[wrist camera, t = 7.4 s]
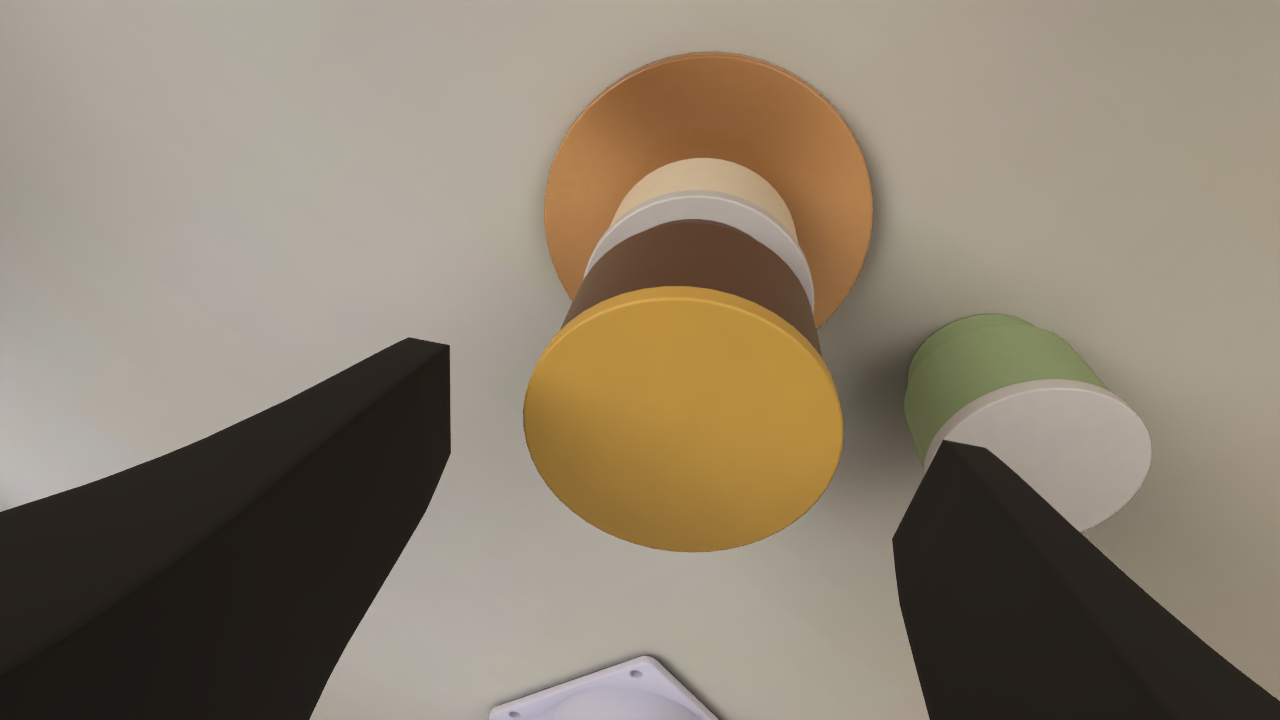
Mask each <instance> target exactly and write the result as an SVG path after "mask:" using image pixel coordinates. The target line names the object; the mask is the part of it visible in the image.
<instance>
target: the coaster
mask: <svg viewBox="0 0 1280 720" xmlns="http://www.w3.org/2000/svg"><path fill="white" fill-rule="evenodd" d="M692 158H713V159H722V160H725V161H729V162H733V163H736V164H739V165H741V166H744V167H746V168H748V169H750V170H751V171H753V172H755V173H757V174H758V175H759V176H761V177H762V178H763V179H765V180H766V181H767V182H768V183H769V184H770V185H771V186H772V187H773V188H774V189H775V190H776V191H777V192H778V194H779V195H780V196H781V198H782V199H783V200H784V202H785V204H786V206H787V208H788V210H789V211H790V214H791V217H792V219H793V222H794V226H795V231H796V235H797V240H798V244H799V246H800V248H801V250H802V251H803V253H804V255H805V258H806V261H807V263H808V266H809V269H810V273H811V278H812V283H813V288H814V312H813V318H814V323H815V327H816V330H817V329H818V328H819V327H820V326H821V325H822V324H823V323H824V322H825V321H826V320H827V319H828V318H829V317H830V316H831V315H832V314H833V313H834V312H835V311H836V309H837V308H838V307H839V306H840V304H841V303H842V302H843V301H844V299H845V298H846V296H847V295H848V293H849V291H850V290H851V288H852V286H853V285H854V283H855V281H856V279H857V277H858V275H859V273H860V270H861V268H862V266H863V263H864V261H865V257H866V254H867V250H868V247H869V243H870V238H871V231H872V224H873V196H872V189H871V183H870V177H869V173H868V170H867V167H866V163H865V160H864V157H863V154H862V152H861V150H860V148H859V146H858V144H857V142H856V139H855V137H854V135H853V134H852V132H851V131H850V129H849V128H848V126H847V125H846V123H845V122H844V120H843V119H842V117H841V116H840V114H839V113H838V112H837V111H836V109H835V108H834V107H833V106H832V105H831V104H830V103H829V102H828V101H827V100H826V98H825V97H824V96H823V95H822V94H820V93H819V92H818V91H817V90H815V89H814V88H813V87H812V86H811V85H809V84H808V83H807V82H806V81H804V80H803V79H801V78H799V77H798V76H796V75H794V74H793V73H791V72H789V71H788V70H786V69H784V68H781V67H779V66H777V65H774V64H772V63H769V62H767V61H765V60H761V59H758V58H754V57H750V56H746V55H742V54H734V53H725V52H693V53H687V54H682V55H676V56H671V57H667V58H664V59H661V60H658V61H655V62H652V63H649V64H646V65H644V66H642V67H640V68H638V69H636V70H634V71H632V72H630V73H628V74H626V75H625V76H623V77H622V78H620V79H619V80H618V81H616V82H615V83H613V84H612V85H610V86H609V87H607V88H606V89H605V90H604V91H603V92H602V93H601V94H600V95H599V96H598V97H596V98H595V99H594V100H593V101H592V102H591V103H590V104H589V105H588V106H587V107H586V109H585V110H584V111H583V112H582V113H581V115H580V116H579V117H578V118H577V119H576V121H575V122H574V123H573V125H572V126H571V128H570V129H569V131H568V133H567V134H566V136H565V138H564V139H563V141H562V143H561V145H560V147H559V149H558V152H557V154H556V156H555V159H554V161H553V164H552V167H551V171H550V175H549V178H548V182H547V188H546V195H545V211H544V223H545V231H546V238H547V244H548V248H549V252H550V255H551V259H552V262H553V265H554V267H555V270H556V272H557V275H558V277H559V279H560V281H561V283H562V285H563V286H564V288H565V290H566V292H567V294H568V295H569V297H570V298H571V300H572V301H574V299H575V296H576V294H577V292H578V290H579V288H580V286H581V284H582V282H583V279H584V274H585V271H586V268H587V265H588V262H589V259H590V257H591V255H592V253H593V251H594V249H595V247H596V245H597V243H598V242H599V240H600V239H601V237H602V236H603V235H604V233H605V232H606V231H607V229H608V228H609V227H610V225H611V223H612V221H613V218H614V216H615V214H616V212H617V210H618V208H619V206H620V204H621V202H622V201H623V199H624V198H625V196H626V195H627V194H628V192H629V191H630V190H631V189H632V188H633V187H634V186H635V185H636V184H637V183H638V182H639V181H640V180H642V179H643V178H644V177H645V176H647V175H648V174H650V173H651V172H653V171H655V170H656V169H658V168H661V167H663V166H665V165H667V164H670V163H673V162H677V161H680V160H686V159H692Z"/></svg>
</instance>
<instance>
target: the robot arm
mask: <svg viewBox="0 0 1280 720" xmlns="http://www.w3.org/2000/svg"><path fill="white" fill-rule="evenodd" d="M450 453H451V433H450V345H446V344H440V343H435V342H430V341H425V340H419V339H414V338H407V339H404V340H402V341H400V342H398V343H396V344H394V345H392V346H390V347H388V348H386V349H384V350H382V351H380V352H378V353H376V354H374V355H372V356H370V357H368V358H366V359H365V360H363V361H361V362H359V363H357V364H355V365H353V366H351V367H350V368H348V369H346V370H344V371H342V372H340V373H338V374H336V375H334V376H332V377H330V378H328V379H327V380H325V381H323V382H321V383H319V384H317V385H315V386H313V387H311V388H309V389H307V390H305V391H303V392H301V393H299V394H297V395H296V396H294V397H292V398H290V399H288V400H286V401H284V402H282V403H280V404H277V405H275V406H273V407H271V408H269V409H267V410H265V411H262V412H260V413H258V414H256V415H254V416H252V417H250V418H247V419H245V420H243V421H241V422H239V423H237V424H234V425H232V426H230V427H228V428H226V429H224V430H222V431H219V432H217V433H215V434H213V435H211V436H209V437H207V438H204V439H202V440H200V441H197V442H195V443H193V444H190V445H188V446H186V447H183V448H181V449H178V450H176V451H173V452H171V453H168V454H166V455H163V456H161V457H159V458H156V459H153V460H151V461H148V462H145V463H143V464H140V465H137V466H135V467H132V468H130V469H127V470H124V471H122V472H119V473H116V474H114V475H111V476H108V477H106V478H103V479H100V480H97V481H94V482H92V483H89V484H86V485H83V486H80V487H77V488H74V489H71V490H68V491H64V492H61V493H58V494H55V495H52V496H49V497H46V498H43V499H40V500H36V501H33V502H30V503H27V504H24V505H21V506H18V507H15V508H12V509H8V510H5V511H2V512H0V720H309V719H310V717H311V715H312V713H313V710H314V708H315V706H316V704H317V702H318V700H319V698H320V696H321V694H322V691H323V689H324V687H325V685H326V683H327V681H328V679H329V677H330V675H331V673H332V671H333V669H334V667H335V666H336V664H337V662H338V660H339V658H340V656H341V655H342V653H343V651H344V649H345V647H346V645H347V643H348V642H349V640H350V638H351V637H352V635H353V633H354V632H355V630H356V628H357V627H358V625H359V623H360V622H361V620H362V618H363V617H364V615H365V613H366V612H367V610H368V608H369V607H370V605H371V603H372V602H373V600H374V598H375V597H376V595H377V593H378V591H379V590H380V588H381V586H382V585H383V583H384V581H385V580H386V578H387V576H388V575H389V573H390V571H391V570H392V568H393V566H394V565H395V563H396V561H397V560H398V558H399V556H400V555H401V553H402V551H403V549H404V548H405V546H406V544H407V543H408V541H409V539H410V538H411V536H412V534H413V532H414V531H415V529H416V527H417V526H418V524H419V522H420V520H421V519H422V517H423V515H424V513H425V512H426V510H427V507H428V505H429V503H430V501H431V498H432V496H433V494H434V492H435V489H436V487H437V485H438V482H439V480H440V478H441V475H442V473H443V470H444V468H445V465H446V463H447V461H448V458H449V456H450ZM892 541H893V551H894V561H895V571H896V579H897V587H898V594H899V601H900V607H901V611H902V615H903V619H904V623H905V627H906V631H907V635H908V639H909V643H910V646H911V650H912V654H913V658H914V662H915V666H916V669H917V673H918V677H919V681H920V684H921V688H922V692H923V696H924V699H925V703H926V707H927V711H928V714H929V718H930V720H1280V701H1279V700H1277V699H1276V698H1275V697H1273V696H1272V695H1271V694H1269V693H1268V692H1267V691H1266V690H1264V689H1263V688H1262V687H1260V686H1259V685H1258V684H1256V683H1255V682H1254V681H1252V680H1251V679H1250V678H1249V677H1247V676H1246V675H1245V674H1243V673H1242V672H1241V671H1239V670H1238V669H1237V668H1236V667H1234V666H1233V665H1232V664H1231V663H1229V662H1228V661H1227V660H1226V659H1224V658H1223V657H1222V656H1221V655H1219V654H1218V653H1217V652H1216V651H1215V650H1213V649H1212V648H1211V647H1210V646H1208V645H1207V644H1206V643H1205V642H1203V641H1202V640H1201V639H1200V638H1199V637H1198V636H1196V635H1195V634H1194V633H1193V632H1192V631H1191V630H1189V629H1188V628H1187V627H1186V626H1185V625H1183V624H1182V623H1181V622H1180V621H1179V620H1178V619H1176V618H1175V617H1174V616H1173V615H1172V614H1171V613H1169V612H1168V611H1167V610H1166V609H1165V608H1163V607H1162V606H1161V605H1160V604H1159V603H1158V602H1156V601H1155V600H1154V599H1153V598H1152V597H1151V596H1149V595H1148V594H1147V593H1146V592H1145V591H1144V590H1143V589H1142V588H1140V587H1139V586H1138V585H1137V584H1136V583H1135V582H1134V581H1133V580H1131V579H1130V578H1129V577H1128V576H1127V575H1126V574H1125V573H1124V572H1122V571H1121V570H1120V569H1119V568H1118V567H1117V566H1116V565H1115V564H1114V563H1113V562H1111V561H1110V560H1109V559H1108V558H1107V557H1106V556H1105V555H1104V554H1103V553H1102V552H1100V551H1099V550H1098V549H1097V548H1096V547H1095V546H1094V545H1093V544H1092V543H1091V542H1090V541H1089V540H1087V539H1086V538H1085V537H1084V536H1083V535H1082V534H1081V533H1080V532H1079V531H1078V530H1077V529H1076V528H1075V527H1073V526H1072V525H1071V524H1070V523H1069V522H1068V521H1067V520H1066V519H1065V518H1064V517H1063V516H1062V515H1061V514H1060V513H1059V512H1057V511H1056V510H1055V509H1054V508H1053V507H1052V506H1051V505H1050V504H1049V503H1048V502H1047V501H1046V500H1045V499H1044V498H1043V497H1041V496H1040V495H1039V494H1038V493H1037V492H1036V491H1035V490H1034V489H1033V488H1032V487H1031V486H1030V485H1029V484H1027V483H1026V482H1025V481H1024V480H1023V479H1022V478H1021V477H1020V476H1019V475H1018V474H1016V473H1015V472H1014V471H1013V470H1012V469H1011V468H1010V467H1009V466H1007V465H1006V464H1005V463H1004V462H1003V461H1002V460H1000V459H999V458H998V457H997V456H996V455H994V454H993V453H992V452H991V451H989V450H988V449H987V448H984V447H979V446H974V445H969V444H964V443H958V442H953V441H948V440H942V442H941V444H940V446H939V448H938V450H937V452H936V454H935V456H934V458H933V460H932V462H931V464H930V466H929V468H928V470H927V472H926V474H925V476H924V478H923V480H922V482H921V484H920V486H919V487H918V489H917V491H916V493H915V495H914V497H913V499H912V501H911V503H910V505H909V507H908V509H907V511H906V513H905V515H904V517H903V519H902V521H901V523H900V525H899V527H898V529H897V531H896V533H895V534H894V536H893V538H892ZM489 719H490V720H719V719H718V718H717V717H716V716H715V715H713V714H712V713H711V712H710V711H709V710H708V709H707V708H706V707H705V706H704V705H703V704H702V703H701V702H700V701H699V700H698V699H697V698H696V697H695V696H694V695H692V694H691V693H690V692H689V691H688V690H687V689H686V688H685V687H684V686H683V685H682V684H681V683H680V682H679V681H678V680H677V679H676V678H675V677H674V676H672V675H671V674H670V673H669V672H668V671H667V670H666V669H665V668H664V667H663V666H662V665H661V664H660V663H659V662H658V661H657V660H656V659H654V658H653V657H650V656H641V657H638V658H635V659H632V660H629V661H626V662H623V663H620V664H617V665H615V666H612V667H609V668H606V669H603V670H600V671H597V672H594V673H592V674H589V675H586V676H583V677H580V678H577V679H574V680H571V681H568V682H566V683H563V684H560V685H557V686H554V687H551V688H548V689H545V690H543V691H540V692H537V693H534V694H531V695H528V696H525V697H522V698H520V699H517V700H514V701H511V702H508V703H505V704H502V705H499V706H496V707H494V708H492V710H491V713H490V716H489Z"/></svg>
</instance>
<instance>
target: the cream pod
mask: <svg viewBox="0 0 1280 720" xmlns="http://www.w3.org/2000/svg"><path fill="white" fill-rule="evenodd" d="M683 219H703V220H712V221H716V222H720V223H724V224H727V225H730V226H732V227H735V228H737V229H739V230H741V231H743V232H745V233H747V234H748V235H750V236H751V237H753V238H754V239H755V240H757V241H758V242H760V243H762V244H764V245H765V246H766V247H768V248H769V249H770V250H772V251H773V252H775V253H776V254H777V255H778V256H779V257H780V258H781V259H782V260H783V261H784V262H785V263H786V264H787V265H788V266H789V267H790V268H791V270H792V271H793V272H794V274H795V275H796V276H797V277H798V279H799V281H800V283H801V284H802V286H803V288H804V290H805V292H806V294H807V297H808V299H809V302H810V305H811V309H812V313H813V312H814V288H813V283H812V278H811V273H810V269H809V266H808V263H807V261H806V258H805V255H804V253H803V251H802V250H801V248H800V246H799V244H798V240H797V235H796V231H795V226H794V222H793V219H792V217H791V214H790V211H789V210H788V208H787V206H786V204H785V202H784V200H783V199H782V198H781V196H780V195H779V194H778V192H777V191H776V190H775V189H774V188H773V187H772V186H771V185H770V184H769V183H768V182H767V181H766V180H765V179H763V178H762V177H761V176H759V175H758V174H757V173H755V172H753V171H751V170H750V169H748V168H746V167H744V166H741V165H739V164H736V163H733V162H729V161H725V160H722V159H713V158H692V159H686V160H680V161H677V162H673V163H670V164H667V165H665V166H663V167H661V168H658V169H656V170H655V171H653V172H651V173H650V174H648V175H647V176H645V177H644V178H643V179H642V180H640V181H639V182H638V183H637V184H636V185H635V186H634V187H633V188H632V189H631V190H630V191H629V192H628V194H627V195H626V196H625V198H624V199H623V201H622V202H621V204H620V206H619V208H618V210H617V212H616V214H615V216H614V218H613V221H612V223H611V225H610V227H609V228H608V229H607V231H606V232H605V233H604V235H603V236H602V237H601V239H600V240H599V242H598V243H597V245H596V247H595V249H594V251H593V253H592V255H591V257H590V259H589V262H588V265H587V268H586V271H585V274H584V278H585V276H586V275H587V274H588V272H589V271H590V270H591V268H592V267H593V265H594V264H595V263H596V262H597V261H598V260H599V259H600V258H601V257H602V256H603V255H604V254H605V253H606V252H608V251H609V250H610V249H612V248H613V247H614V246H615V245H617V244H618V243H620V242H622V241H624V240H625V239H627V238H629V237H630V236H633V235H635V234H638V233H640V232H642V231H645V230H648V229H650V228H652V227H655V226H657V225H659V224H663V223H667V222H670V221H675V220H683ZM583 280H584V279H583Z"/></svg>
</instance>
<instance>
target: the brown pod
mask: <svg viewBox="0 0 1280 720" xmlns="http://www.w3.org/2000/svg"><path fill="white" fill-rule="evenodd" d="M523 426H524V432H525V437H526V443H527V446H528V449H529V452H530V455H531V458H532V460H533V462H534V464H535V466H536V468H537V470H538V472H539V474H540V475H541V477H542V478H543V480H544V481H545V483H546V484H547V486H548V487H549V488H550V489H551V490H552V492H553V493H554V494H555V495H556V496H557V497H558V498H559V500H560V501H562V502H563V503H564V504H565V505H566V506H567V507H568V508H569V509H570V510H572V511H573V512H574V513H575V514H577V515H578V516H580V517H581V518H582V519H584V520H585V521H586V522H588V523H590V524H592V525H593V526H595V527H597V528H598V529H600V530H602V531H604V532H606V533H608V534H611V535H613V536H615V537H617V538H620V539H623V540H625V541H628V542H631V543H634V544H637V545H642V546H646V547H650V548H654V549H660V550H667V551H676V552H710V551H718V550H726V549H731V548H735V547H740V546H744V545H747V544H750V543H753V542H756V541H759V540H762V539H764V538H766V537H768V536H771V535H773V534H775V533H777V532H779V531H780V530H782V529H784V528H785V527H787V526H789V525H790V524H792V523H793V522H795V521H796V520H797V519H798V518H800V517H801V516H802V515H803V514H805V513H806V512H807V511H808V510H809V509H810V508H811V507H812V506H813V505H814V504H815V503H816V502H817V501H818V499H819V498H820V497H821V495H822V494H823V492H824V491H825V490H826V488H827V487H828V485H829V483H830V481H831V479H832V477H833V475H834V473H835V471H836V469H837V466H838V463H839V460H840V457H841V453H842V446H843V439H844V429H843V416H842V411H841V406H840V401H839V397H838V393H837V389H836V387H835V384H834V381H833V379H832V376H831V373H830V371H829V370H828V368H827V366H826V364H825V363H824V361H823V359H822V354H821V350H820V345H819V341H818V336H817V332H816V327H815V323H814V318H813V313H812V309H811V305H810V302H809V299H808V297H807V294H806V292H805V290H804V288H803V286H802V284H801V283H800V281H799V279H798V277H797V276H796V275H795V274H794V272H793V271H792V270H791V268H790V267H789V266H788V265H787V264H786V263H785V262H784V261H783V260H782V259H781V258H780V257H779V256H778V255H777V254H776V253H775V252H773V251H772V250H770V249H769V248H768V247H766V246H765V245H764V244H762V243H760V242H758V241H757V240H755V239H754V238H753V237H751V236H750V235H748V234H747V233H745V232H743V231H741V230H739V229H737V228H735V227H732V226H730V225H727V224H724V223H720V222H716V221H712V220H703V219H683V220H675V221H670V222H667V223H663V224H659V225H657V226H655V227H652V228H650V229H648V230H645V231H642V232H640V233H638V234H635V235H633V236H630V237H629V238H627V239H625V240H624V241H622V242H620V243H618V244H617V245H615V246H614V247H613V248H612V249H610V250H609V251H608V252H606V253H605V254H604V255H603V256H602V257H601V258H600V259H599V260H598V261H597V262H596V263H595V264H594V265H593V267H592V268H591V270H590V271H589V272H588V274H587V275H586V276H585V278H584V280H583V282H582V284H581V286H580V288H579V290H578V292H577V294H576V296H575V299H574V301H573V303H572V305H571V307H570V309H569V312H568V314H567V316H566V318H565V320H564V323H563V325H562V327H561V329H560V331H559V332H558V333H557V334H556V335H555V336H554V338H553V339H552V340H551V342H550V343H549V345H548V346H547V347H546V349H545V350H544V352H543V354H542V356H541V357H540V359H539V361H538V363H537V365H536V367H535V369H534V371H533V374H532V376H531V378H530V381H529V384H528V387H527V390H526V394H525V401H524V408H523Z"/></svg>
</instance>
